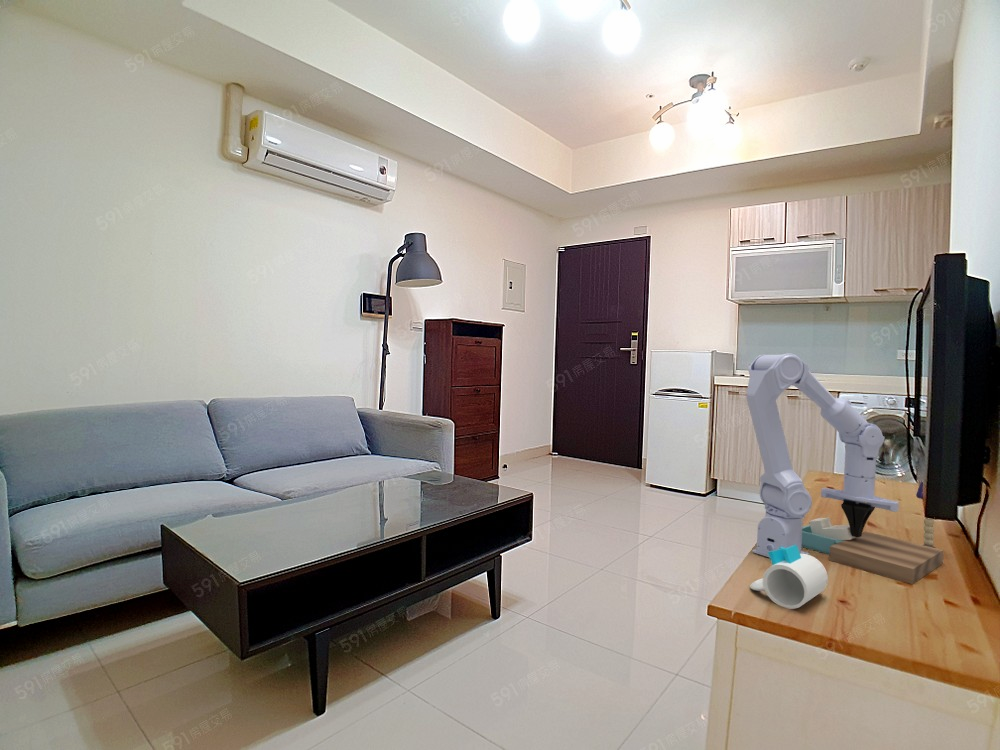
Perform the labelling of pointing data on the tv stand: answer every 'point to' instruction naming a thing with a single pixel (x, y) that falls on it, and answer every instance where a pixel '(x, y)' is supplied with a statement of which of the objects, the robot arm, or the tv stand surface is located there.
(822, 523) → the tile
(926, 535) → the toy lamp
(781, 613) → the tv stand surface
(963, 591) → the tv stand surface
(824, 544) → the box
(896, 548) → the walnut board
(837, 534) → the tile
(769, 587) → the mug
